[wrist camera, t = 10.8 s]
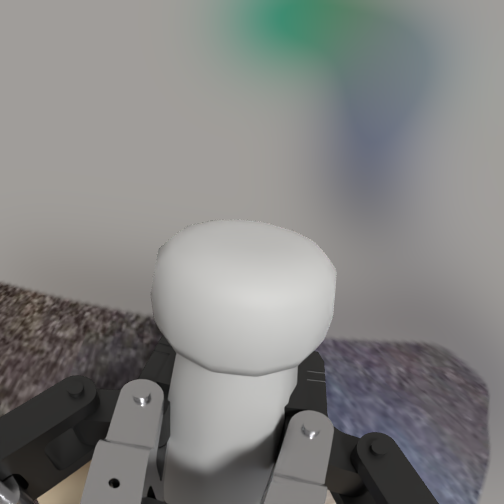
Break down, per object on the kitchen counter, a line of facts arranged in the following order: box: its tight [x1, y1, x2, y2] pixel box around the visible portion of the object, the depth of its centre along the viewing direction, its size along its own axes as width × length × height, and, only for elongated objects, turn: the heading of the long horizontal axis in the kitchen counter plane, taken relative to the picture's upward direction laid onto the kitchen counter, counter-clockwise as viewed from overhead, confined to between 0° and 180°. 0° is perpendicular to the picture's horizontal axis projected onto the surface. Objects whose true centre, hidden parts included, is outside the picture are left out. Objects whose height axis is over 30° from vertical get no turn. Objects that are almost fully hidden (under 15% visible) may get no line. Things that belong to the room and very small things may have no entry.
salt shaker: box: [151, 220, 337, 504], centre depth 10 cm, size 6×6×13 cm
